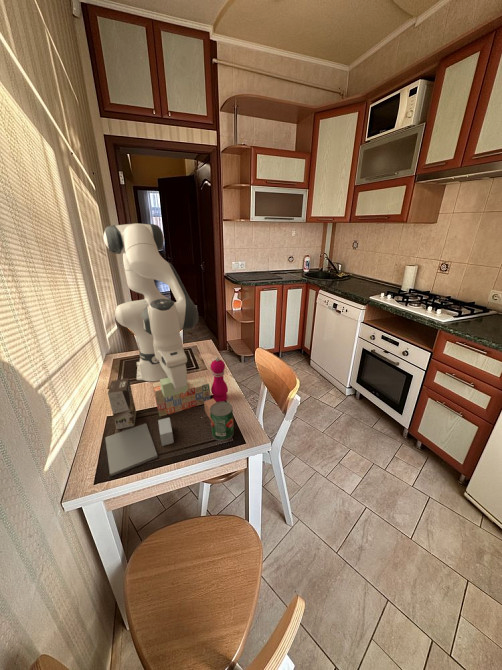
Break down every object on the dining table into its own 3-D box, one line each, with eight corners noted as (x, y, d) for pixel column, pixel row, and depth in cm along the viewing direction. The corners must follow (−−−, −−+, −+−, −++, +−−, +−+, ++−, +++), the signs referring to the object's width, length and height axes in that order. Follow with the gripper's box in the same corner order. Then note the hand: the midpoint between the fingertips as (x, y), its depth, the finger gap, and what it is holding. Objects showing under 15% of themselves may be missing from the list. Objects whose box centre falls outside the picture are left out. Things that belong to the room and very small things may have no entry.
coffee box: (134, 426, 103) (126, 390, 97) (116, 430, 101) (106, 393, 95) (136, 411, 111) (129, 377, 105) (119, 414, 109) (111, 380, 103)
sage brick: (161, 392, 93) (159, 379, 91) (184, 385, 97) (182, 373, 95) (164, 398, 90) (162, 385, 88) (188, 390, 94) (186, 378, 92)
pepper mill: (214, 405, 114) (211, 362, 106) (209, 395, 120) (206, 355, 113) (230, 400, 117) (228, 359, 109) (225, 391, 123) (222, 352, 115)
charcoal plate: (105, 439, 97) (105, 437, 96) (146, 425, 103) (146, 423, 103) (110, 476, 82) (109, 474, 82) (157, 457, 89) (157, 455, 88)
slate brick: (162, 446, 93) (159, 434, 91) (160, 431, 100) (158, 420, 98) (173, 442, 95) (172, 431, 93) (171, 428, 102) (169, 417, 100)
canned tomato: (209, 428, 101) (207, 404, 97) (230, 423, 103) (228, 399, 99) (215, 443, 94) (212, 417, 90) (236, 437, 96) (235, 412, 92)
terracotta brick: (212, 423, 104) (211, 412, 102) (205, 411, 110) (204, 401, 108) (222, 419, 106) (221, 408, 104) (214, 408, 112) (213, 398, 110)
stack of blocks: (206, 394, 121) (204, 370, 117) (211, 402, 116) (208, 377, 111) (157, 408, 113) (152, 383, 108) (159, 417, 108) (154, 390, 103)
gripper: (151, 341, 94) (157, 376, 99) (167, 365, 78) (173, 405, 83) (169, 337, 97) (174, 371, 103) (188, 359, 81) (193, 398, 86)
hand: (174, 386), depth 93 cm, fingers closed on sage brick, 4 cm apart
